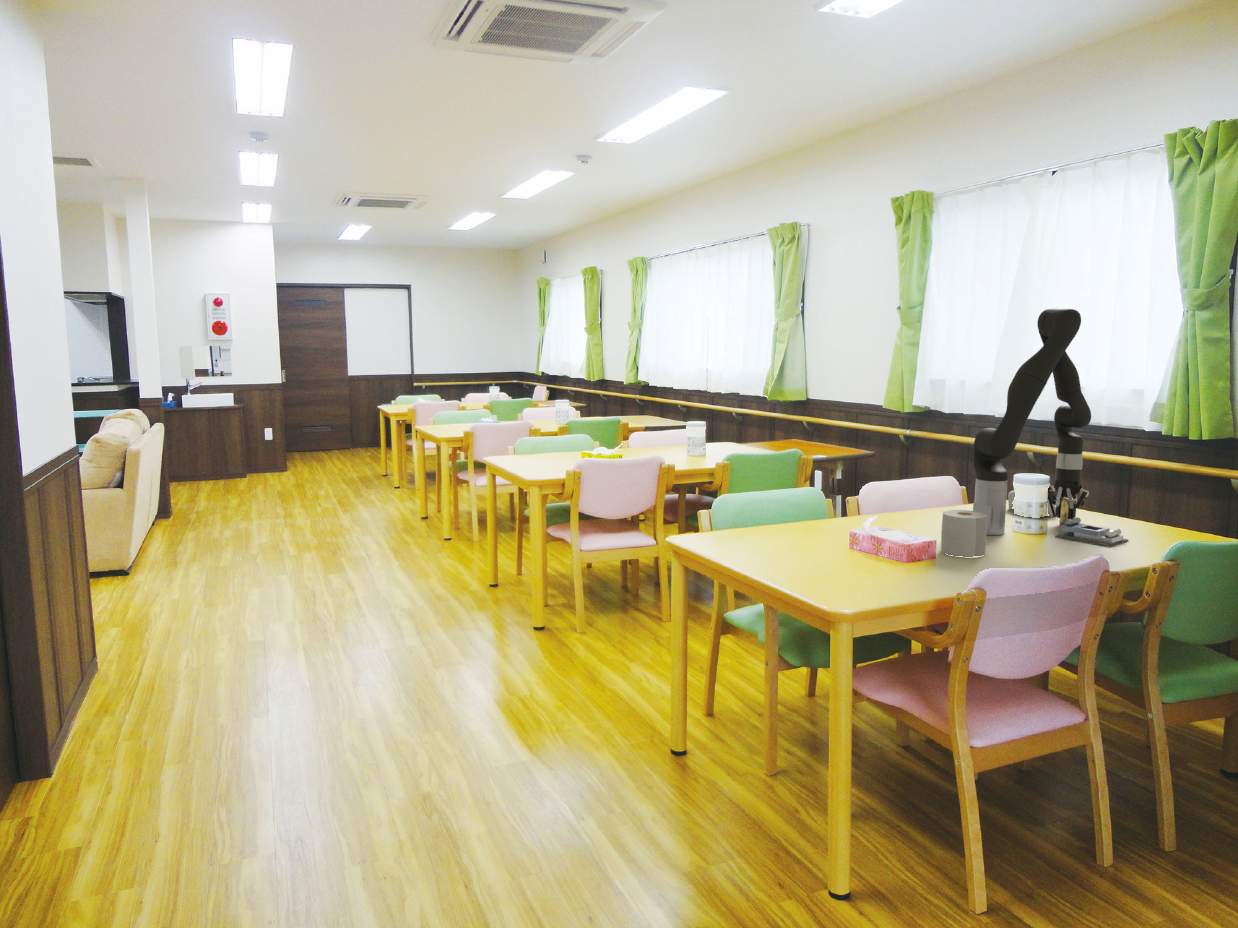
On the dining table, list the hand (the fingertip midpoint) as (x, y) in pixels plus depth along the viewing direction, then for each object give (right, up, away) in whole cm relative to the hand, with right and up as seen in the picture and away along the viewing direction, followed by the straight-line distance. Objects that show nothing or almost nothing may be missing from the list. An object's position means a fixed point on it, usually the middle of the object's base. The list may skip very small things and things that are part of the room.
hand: (1065, 518), depth 269 cm
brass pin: (0, -2, 0) cm, 3 cm away
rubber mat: (-2, -5, -18) cm, 19 cm away
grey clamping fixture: (-2, -5, -18) cm, 19 cm away
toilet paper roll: (-47, -8, -32) cm, 58 cm away
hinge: (0, 0, +22) cm, 22 cm away
